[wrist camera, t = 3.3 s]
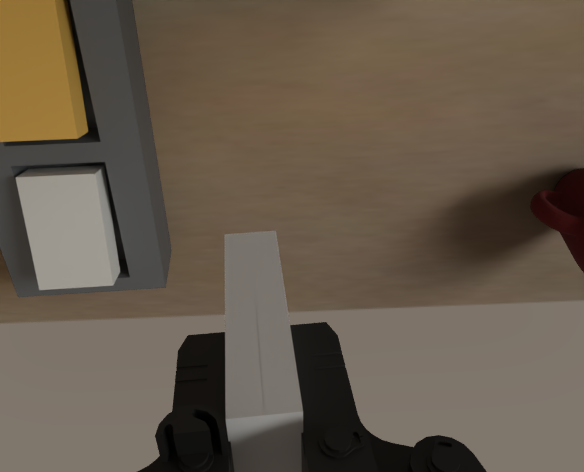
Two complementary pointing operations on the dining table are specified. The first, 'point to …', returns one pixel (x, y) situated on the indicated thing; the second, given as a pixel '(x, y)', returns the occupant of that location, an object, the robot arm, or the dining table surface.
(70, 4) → the power strip
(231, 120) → the dining table surface
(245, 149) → the dining table surface
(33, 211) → the rocker grey
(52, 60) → the rocker amber
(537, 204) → the mug
